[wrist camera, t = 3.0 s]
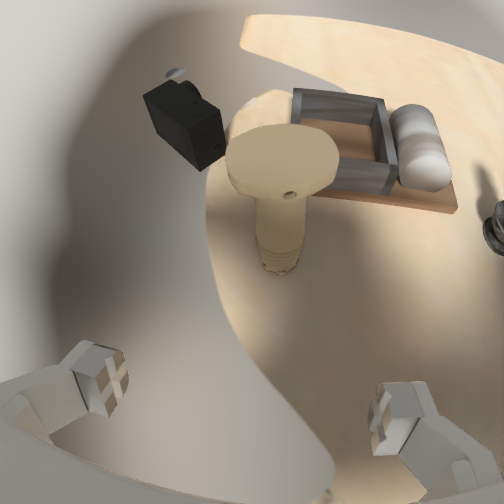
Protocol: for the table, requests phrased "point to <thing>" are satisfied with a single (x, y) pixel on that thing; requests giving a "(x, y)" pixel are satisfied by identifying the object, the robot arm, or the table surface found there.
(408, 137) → the base
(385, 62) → the table surface
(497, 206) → the dark grey chess piece
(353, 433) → the table surface
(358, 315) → the table surface
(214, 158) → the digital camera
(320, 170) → the handle
